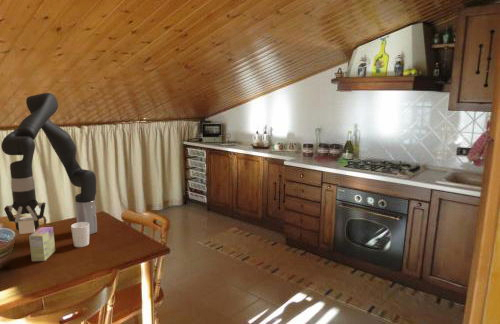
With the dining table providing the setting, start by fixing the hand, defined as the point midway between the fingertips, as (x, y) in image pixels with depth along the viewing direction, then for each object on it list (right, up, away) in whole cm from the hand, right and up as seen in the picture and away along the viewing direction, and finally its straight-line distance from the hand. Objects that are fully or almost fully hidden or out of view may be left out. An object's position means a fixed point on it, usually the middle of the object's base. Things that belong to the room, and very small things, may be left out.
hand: (28, 229), depth 142 cm
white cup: (+6, -13, +32) cm, 35 cm away
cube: (0, -1, 0) cm, 0 cm away
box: (-5, -16, +19) cm, 25 cm away
